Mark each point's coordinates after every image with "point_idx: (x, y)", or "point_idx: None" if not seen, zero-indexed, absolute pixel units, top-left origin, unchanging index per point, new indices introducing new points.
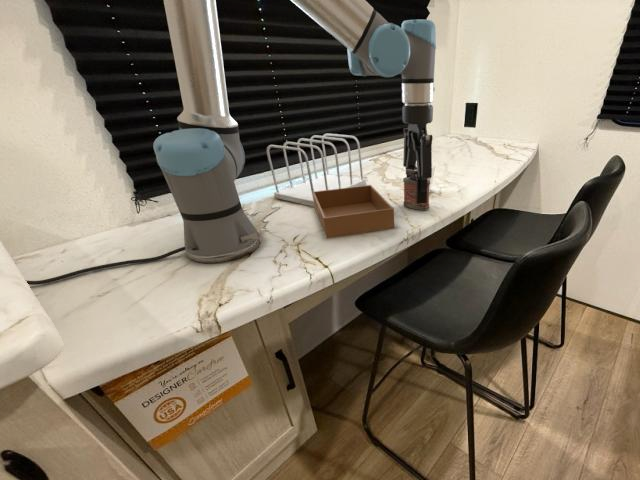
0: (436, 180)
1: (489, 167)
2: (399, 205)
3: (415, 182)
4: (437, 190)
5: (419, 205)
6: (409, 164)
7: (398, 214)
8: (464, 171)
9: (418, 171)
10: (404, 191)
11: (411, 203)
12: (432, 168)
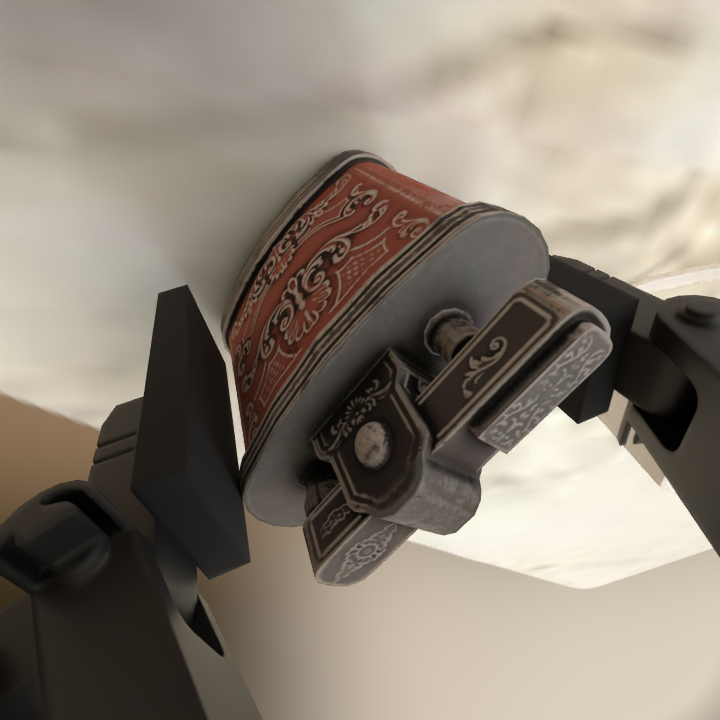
0: None
1: (668, 539)
2: (383, 108)
3: (306, 380)
4: None
5: (246, 298)
6: (713, 412)
7: (112, 45)
8: None
9: (122, 648)
10: (397, 186)
11: (290, 231)
12: (657, 482)
